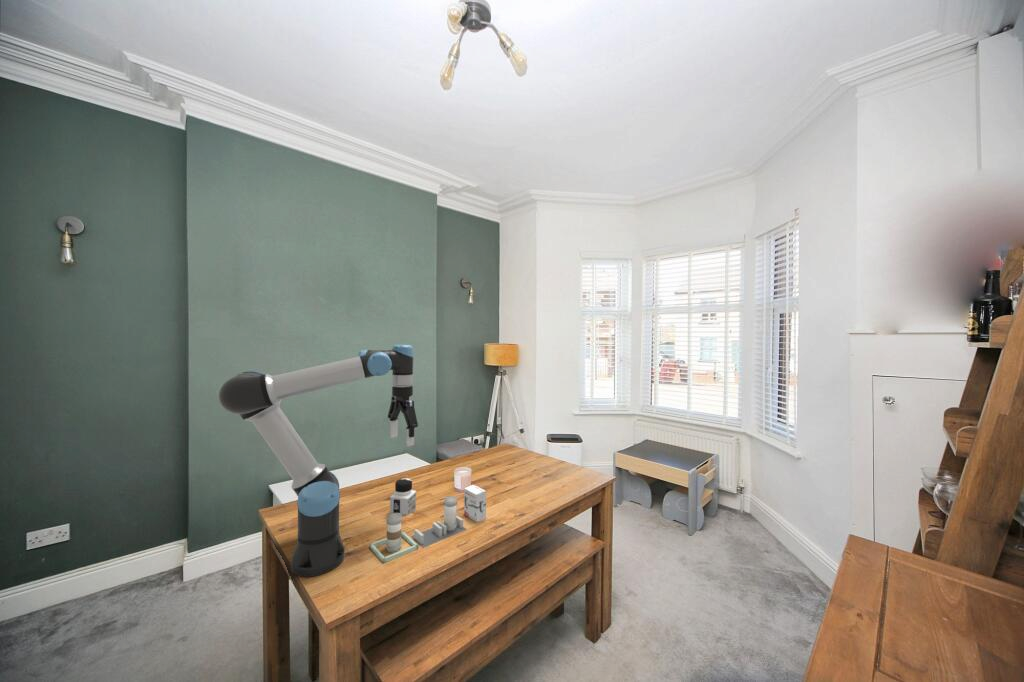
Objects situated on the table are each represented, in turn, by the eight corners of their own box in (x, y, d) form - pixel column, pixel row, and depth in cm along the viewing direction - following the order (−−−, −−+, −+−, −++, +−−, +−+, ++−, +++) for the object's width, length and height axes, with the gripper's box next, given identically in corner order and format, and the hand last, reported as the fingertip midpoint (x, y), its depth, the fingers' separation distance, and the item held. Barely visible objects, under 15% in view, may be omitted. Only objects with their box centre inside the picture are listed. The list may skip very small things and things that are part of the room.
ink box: (463, 516, 147) (463, 487, 147) (472, 512, 151) (473, 483, 151) (476, 525, 141) (477, 494, 141) (486, 520, 145) (487, 490, 145)
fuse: (447, 533, 133) (448, 503, 133) (440, 528, 137) (441, 498, 137) (459, 528, 136) (459, 499, 136) (451, 523, 140) (452, 495, 140)
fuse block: (423, 550, 124) (423, 538, 124) (410, 539, 131) (410, 528, 131) (467, 532, 136) (467, 521, 136) (453, 522, 143) (453, 512, 143)
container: (407, 517, 146) (408, 485, 146) (389, 515, 147) (390, 483, 147) (416, 508, 153) (416, 477, 153) (399, 506, 155) (399, 475, 155)
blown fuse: (390, 554, 120) (390, 521, 120) (383, 548, 124) (384, 515, 123) (403, 549, 123) (404, 516, 123) (397, 542, 127) (397, 511, 127)
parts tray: (383, 566, 116) (383, 559, 115) (369, 550, 124) (369, 544, 124) (418, 551, 124) (418, 545, 124) (403, 537, 132) (403, 531, 132)
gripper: (428, 388, 133) (427, 447, 134) (397, 381, 152) (396, 432, 152) (408, 390, 128) (407, 451, 129) (379, 382, 147) (378, 435, 147)
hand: (401, 441), depth 140 cm, fingers open, 13 cm apart
